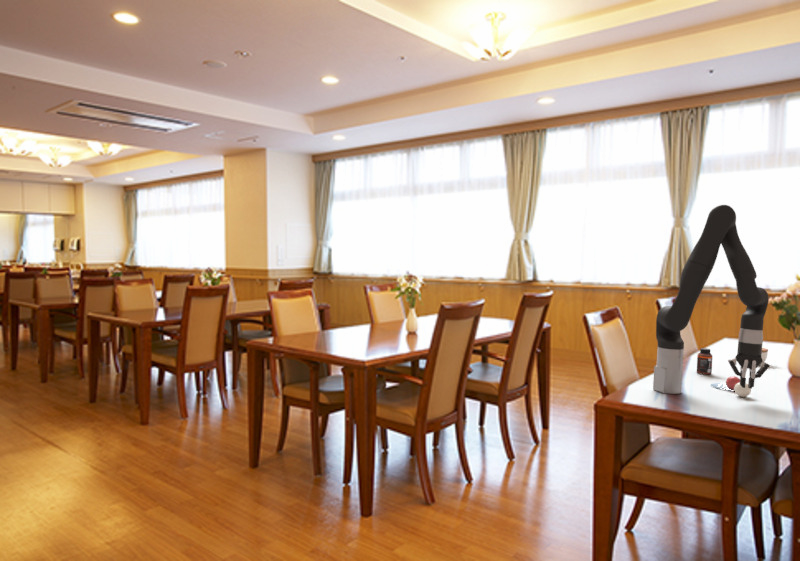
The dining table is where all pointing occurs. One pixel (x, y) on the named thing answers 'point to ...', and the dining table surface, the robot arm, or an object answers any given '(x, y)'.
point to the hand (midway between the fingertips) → (746, 387)
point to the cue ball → (742, 390)
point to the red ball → (732, 382)
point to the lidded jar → (764, 354)
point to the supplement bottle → (704, 362)
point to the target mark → (717, 385)
